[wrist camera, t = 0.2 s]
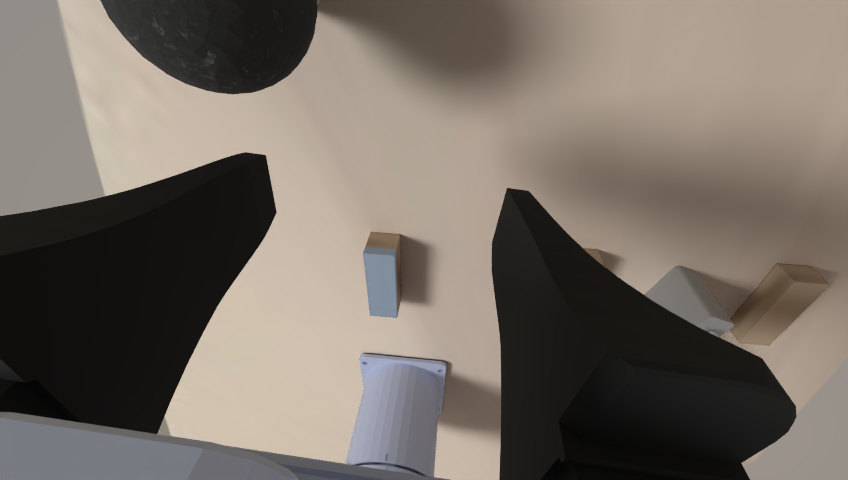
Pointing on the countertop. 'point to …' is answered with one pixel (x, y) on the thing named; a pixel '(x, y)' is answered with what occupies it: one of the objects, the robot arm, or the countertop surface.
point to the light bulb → (219, 39)
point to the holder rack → (753, 321)
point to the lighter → (691, 300)
